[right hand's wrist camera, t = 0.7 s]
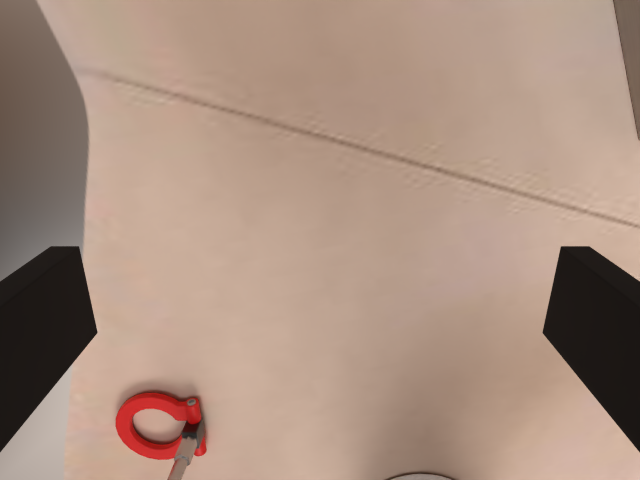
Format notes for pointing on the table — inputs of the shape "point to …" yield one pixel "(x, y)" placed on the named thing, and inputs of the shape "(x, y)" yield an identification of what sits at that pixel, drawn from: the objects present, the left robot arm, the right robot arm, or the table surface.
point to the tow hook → (179, 449)
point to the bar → (631, 48)
